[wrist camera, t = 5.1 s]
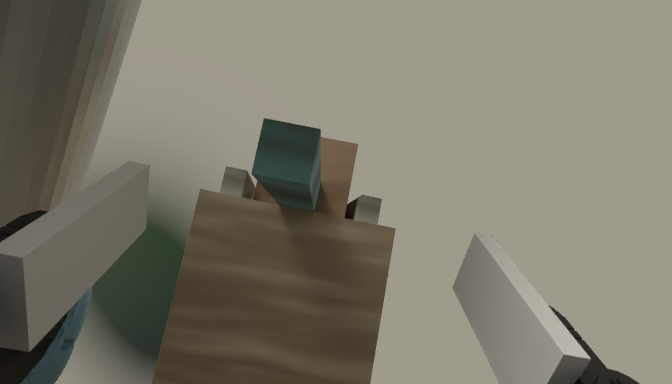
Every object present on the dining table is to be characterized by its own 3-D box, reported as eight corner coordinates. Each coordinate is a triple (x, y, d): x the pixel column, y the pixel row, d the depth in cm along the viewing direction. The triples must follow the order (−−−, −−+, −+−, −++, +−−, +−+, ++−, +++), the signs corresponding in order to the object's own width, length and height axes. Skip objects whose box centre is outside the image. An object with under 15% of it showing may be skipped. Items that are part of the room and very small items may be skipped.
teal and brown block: (361, 194, 17) (384, 65, 18) (199, 163, 17) (231, 35, 18) (339, 226, 36) (351, 164, 37) (265, 212, 36) (278, 150, 37)
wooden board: (314, 718, 24) (399, 201, 29) (72, 702, 22) (206, 161, 27) (303, 544, 37) (362, 215, 42) (153, 527, 36) (232, 189, 41)
